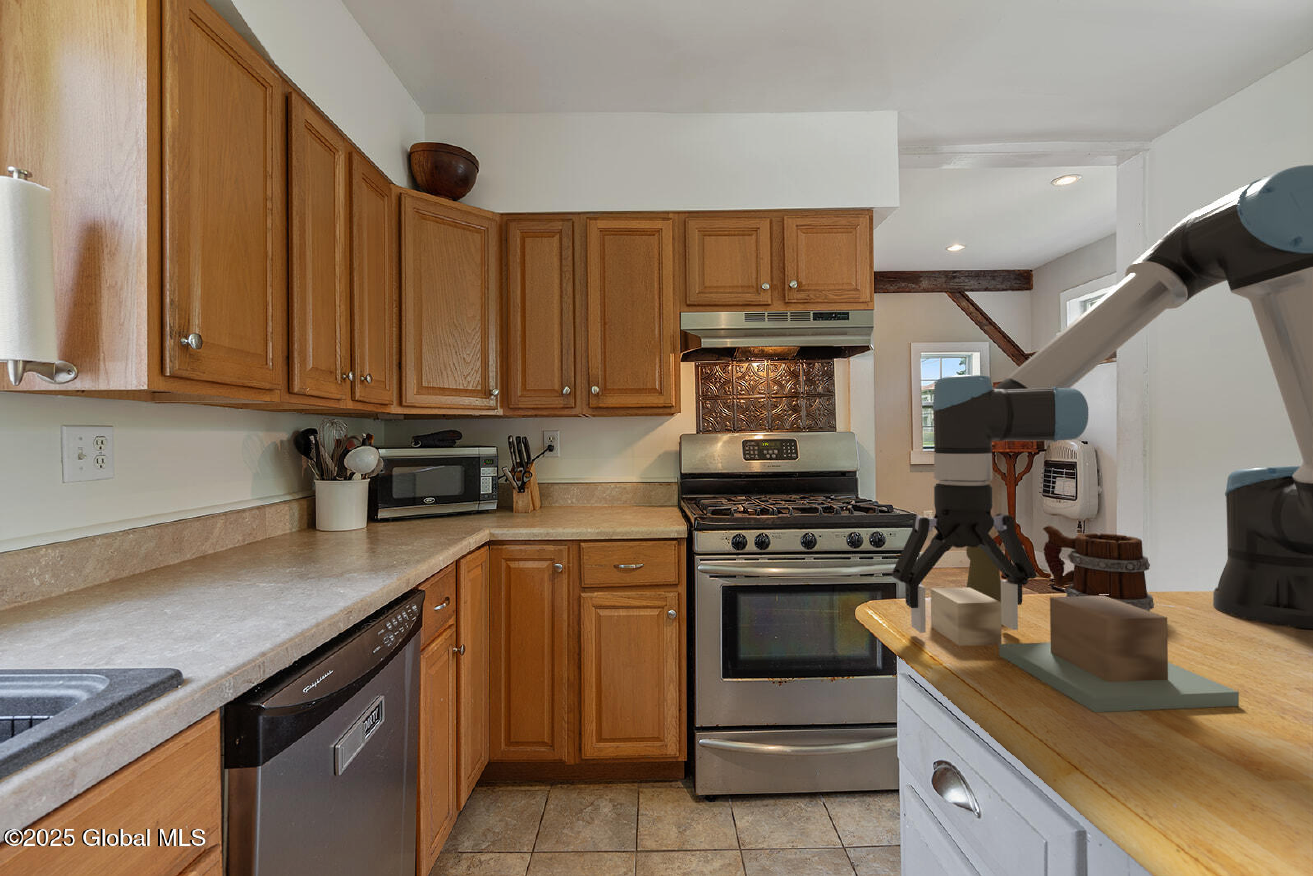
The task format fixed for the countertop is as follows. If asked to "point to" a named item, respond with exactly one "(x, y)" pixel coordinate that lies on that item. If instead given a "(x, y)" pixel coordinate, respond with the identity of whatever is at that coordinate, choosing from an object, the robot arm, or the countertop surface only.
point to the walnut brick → (1109, 638)
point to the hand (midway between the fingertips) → (964, 628)
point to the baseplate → (1118, 684)
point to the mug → (1100, 566)
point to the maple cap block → (966, 616)
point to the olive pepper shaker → (983, 573)
